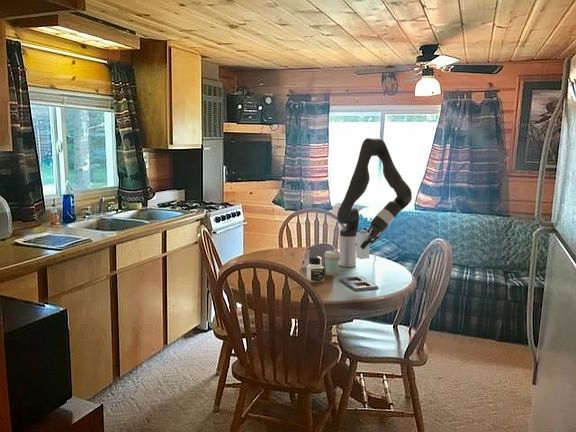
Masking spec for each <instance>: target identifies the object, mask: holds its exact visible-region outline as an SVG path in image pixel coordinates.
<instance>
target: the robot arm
mask: <svg viewBox="0 0 576 432" xmlns="http://www.w3.org/2000/svg"><path fill="white" fill-rule="evenodd" d="M372 157H378V159H379V160H380V162H381V163H382V173H383V174H382V175H383V176H384V178H385V180H386V182H387V184H388V185H389V187H390V188H392V189H393V191H394V192H395V195H396V197H395V198H394V199H393V200H392V201H391V200H389V202H387V204H386V205H384V207H383V208H381V210H380V211H378V213H377V214H376V215H375V216H374V218H372V220H371V221H370V223H369V224H370V226H369V227H368V228H367V227H364V228H363V229H362V230H367V233H370V234H369V235H368V237H367V239H366V241H364V242H363V243H362V245H361V246H360V247H361V248H362V249H365V247H366V246H367V245H368V244H369V245H371V244H374V243H375V242H376V241H377V240H378V239H380V238H381V237H382V234H381V233H384V231H385V230H386V229H387V228H388V227H389V226H390V225H391V223H392V222H393V220H395V218H396V217H397V216H398V214H399V213H400V212H401V211H402V210H404V209H405V208H406V207H407V206H409V205H410V203H411V201H412V199H413V197H412V195H413V194H412V189H411V188H410V186H409V185H408V184H407V183H406V182H405V180H404V179H403V177H402V175H401V174H400V173H399V171H398V170H397V168H396V166H395V164H394V162H393V159H392V156H391V154H390V151H389V150H388V147H387V145H386V142H385V140H383V138H380V137H366V138H365V139H364V140H363V141H362V144H361V147H360V150H359V154H358V159H357V163H356V164H355V169H354V172H353V174H352V176H351V179H350V182H349V185H348V188H347V190H346V193H345V196H344V198H343V200H342V202H341V204H340V206H339V208H338V211H337V213H336V214H337V215H336V216H337V217H336V218H337V221H338V223H340V224H342V225H345V226H344V227H343V228H341V229H340V231H339V253H340V259H339V266H340V267H345V268H353V267H356V264H357V262H356V260H357V257H356V249H357V232H358V230H359V221H360V214H359V209H358V208H357V207H355V206H354V205H355V203H356V202H357V201H358V199H360V198H361V197H362V196H363V195H364V193H365V192H366V190H367V188H368V185H369V183H370V173H369V163H370V160H371V159H372Z"/></svg>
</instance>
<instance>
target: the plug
mask: <svg viewBox="0 0 576 432" xmlns="http://www.w3.org/2000/svg"><path fill="white" fill-rule="evenodd" d="M369 234H370V233H367V230H363V229H362V230H361V229H360V230H359V232H358V231H357V238H356V243H357V246H356V259H357V258H358V259H359V260H366V259H367V260H368V259H370V244H368V245H367V246H366V247H365V249H362V248H361V247H360V246H361V245H362V243H363V242H364V241H366V239H367V237H368V235H369Z"/></svg>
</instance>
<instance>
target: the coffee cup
mask: <svg viewBox="0 0 576 432" xmlns="http://www.w3.org/2000/svg"><path fill="white" fill-rule="evenodd" d="M323 254H324V255H323V256H324V263H325V265H324V266H325V272H326V273H325V274H326V275H327V276H332V277H333V276H337V275H338V274H339V273H338V272H339V266H340V265H339V259H340V251H339V250H338V251H336V250H327V251H325V252H324V253H323Z"/></svg>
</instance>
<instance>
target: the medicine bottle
mask: <svg viewBox="0 0 576 432" xmlns="http://www.w3.org/2000/svg"><path fill="white" fill-rule="evenodd" d="M322 259H323V258H322V257H321V256H319V255H312V256H310V257H309V264H307V265H306V280H308V281H309V282H310V283H317V282H325V267H324V266H323V263H322V262H323V261H322Z"/></svg>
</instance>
